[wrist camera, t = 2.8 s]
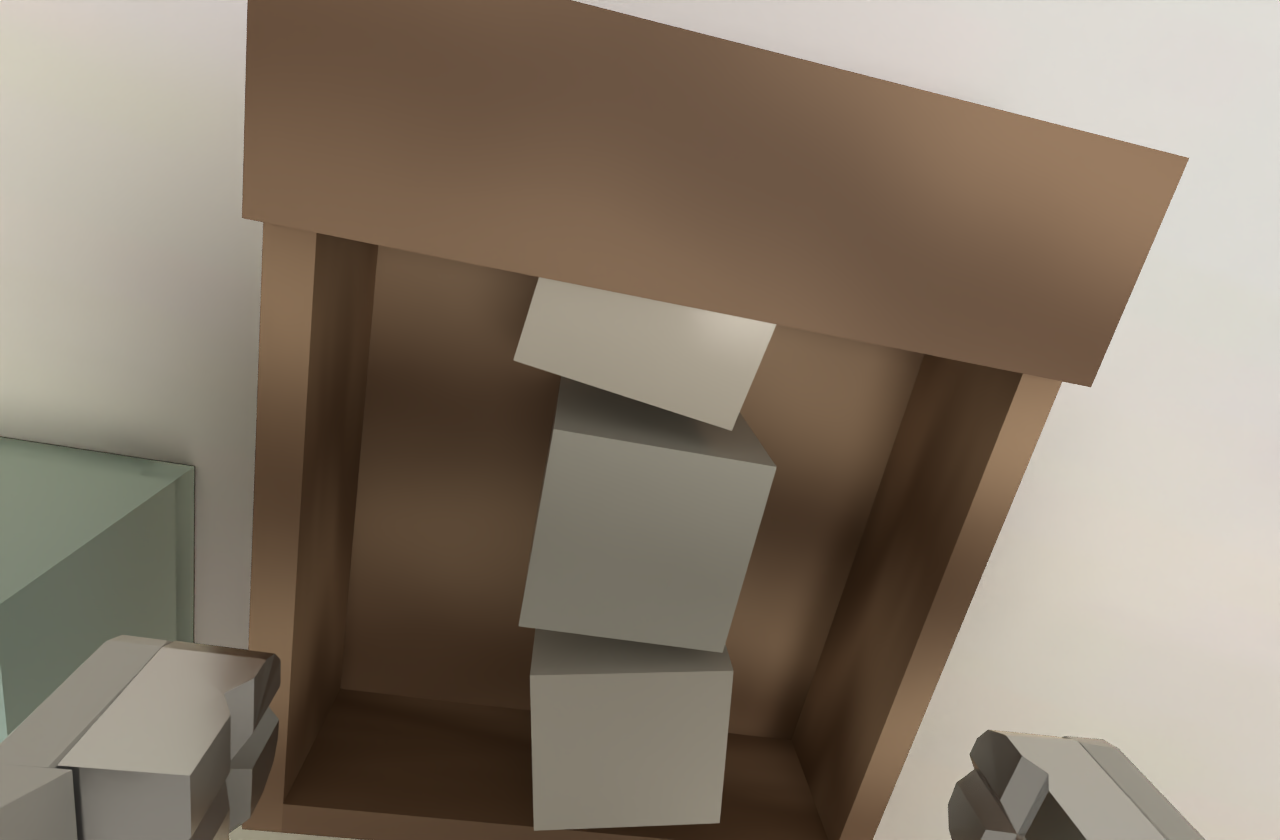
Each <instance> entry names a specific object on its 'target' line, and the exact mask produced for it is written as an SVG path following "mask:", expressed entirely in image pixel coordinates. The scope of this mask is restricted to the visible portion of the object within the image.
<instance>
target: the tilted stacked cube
mask: <svg viewBox="0 0 1280 840" xmlns="http://www.w3.org/2000/svg"><path fill="white" fill-rule="evenodd" d="M776 468H777V467H776V465H775V464H774V462H773V461H772V459H771V458H770V456H769V455H768V453H767V452H766V450H765V449H764V447H763V446H762V444H761V443H760V441H759V440H758V438H757V437H756V436H755V434H754V433H753V431H752V430H751V428H750V427H749V425H748V424H747V422H746V421H745V419H744V418H743V416H742V415H741V413H740V412H739V415H738V417H737V420H736V422H735V424H734V427H733V429H732V431H730V430H727V429H724V428H721V427H718V426H715V425H712V424H709V423H706V422H703V421H700V420H696V419H693V418H690V417H687V416H684V415H681V414H678V413H675V412H672V411H669V410H665V409H662V408H659V407H656V406H653V405H650V404H647V403H644V402H641V401H638V400H635V399H631V398H628V397H625V396H622V395H619V394H616V393H613V392H610V391H607V390H604V389H601V388H597V387H594V386H591V385H588V384H585V383H582V382H579V381H576V380H573V379H570V378H566V377H563V376H561V379H560V384H559V390H558V396H557V401H556V407H555V412H554V418H553V424H552V429H551V435H550V441H549V446H548V452H547V458H546V463H545V469H544V474H543V480H542V486H541V491H540V497H539V503H538V508H537V514H536V520H535V525H534V531H533V538H532V544H531V550H530V557H529V563H528V569H527V575H526V582H525V588H524V594H523V601H522V607H521V613H520V620H519V626H521V627H528V628H536V629H544V630H551V631H559V632H567V633H574V634H582V635H590V636H597V637H605V638H613V639H620V640H628V641H636V642H644V643H651V644H659V645H667V646H674V647H682V648H690V649H697V650H705V651H713V652H720V653H723V650H724V646H725V643H726V640H727V636H728V633H729V629H730V626H731V622H732V619H733V616H734V612H735V609H736V605H737V602H738V598H739V595H740V591H741V588H742V585H743V581H744V578H745V574H746V571H747V567H748V564H749V561H750V557H751V554H752V550H753V547H754V543H755V540H756V537H757V533H758V530H759V526H760V523H761V519H762V516H763V513H764V509H765V506H766V502H767V499H768V495H769V492H770V488H771V485H772V482H773V478H774V475H775V471H776Z"/></svg>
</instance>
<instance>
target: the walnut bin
mask: <svg viewBox="0 0 1280 840" xmlns="http://www.w3.org/2000/svg"><path fill="white" fill-rule="evenodd" d="M1188 160H1189V158H1187V157H1183V156H1179V155H1175V154H1171V153H1167V152H1163V151H1159V150H1155V149H1151V148H1147V147H1143V146H1140V145H1136V144H1132V143H1128V142H1124V141H1120V140H1116V139H1112V138H1108V137H1104V136H1100V135H1096V134H1093V133H1089V132H1085V131H1081V130H1077V129H1073V128H1069V127H1065V126H1061V125H1057V124H1053V123H1049V122H1046V121H1042V120H1038V119H1034V118H1030V117H1026V116H1022V115H1018V114H1014V113H1010V112H1006V111H1003V110H999V109H995V108H991V107H987V106H983V105H979V104H975V103H971V102H967V101H963V100H959V99H956V98H952V97H948V96H944V95H940V94H936V93H932V92H928V91H924V90H920V89H916V88H912V87H909V86H905V85H901V84H897V83H893V82H889V81H885V80H881V79H877V78H873V77H869V76H865V75H862V74H858V73H854V72H850V71H846V70H842V69H838V68H834V67H830V66H826V65H822V64H818V63H815V62H811V61H807V60H803V59H799V58H795V57H791V56H787V55H783V54H779V53H775V52H771V51H768V50H764V49H760V48H756V47H752V46H748V45H744V44H740V43H736V42H732V41H728V40H724V39H721V38H717V37H713V36H709V35H705V34H701V33H697V32H693V31H689V30H685V29H681V28H677V27H674V26H670V25H666V24H662V23H658V22H654V21H650V20H646V19H642V18H638V17H634V16H631V15H627V14H623V13H619V12H615V11H611V10H607V9H603V8H599V7H595V6H591V5H587V4H584V3H580V2H576V1H572V0H248V7H247V46H246V85H245V124H244V163H243V202H242V218H245V219H250V220H255V221H260V222H263V249H262V277H261V306H260V334H259V363H258V391H257V420H256V449H255V477H254V506H253V534H252V563H251V591H250V620H249V648H248V650H252V651H259V652H267V653H275V654H276V655H277V656H278V657H279V658H280V659H281V686H280V687H279V689H278V691H277V692H276V694H275V696H274V698H273V699H272V701H271V703H270V705H269V707H270V709H271V710H272V711H273V712H274V714H275V715H276V716H277V717H278V719H279V730H278V741H277V746H276V752H275V757H274V762H273V765H272V768H271V771H270V774H269V776H268V779H267V782H266V785H265V788H264V791H263V793H262V795H261V797H260V799H259V801H258V803H257V806H256V808H255V810H254V812H253V814H252V816H251V818H250V819H248V820H247V821H245V822H244V823H243V824H242V829H248V830H259V831H271V832H282V833H294V834H306V835H317V836H329V837H341V838H352V839H364V840H873V837H874V835H875V832H876V830H877V828H878V825H879V823H880V820H881V818H882V815H883V813H884V811H885V808H886V806H887V803H888V801H889V799H890V796H891V794H892V791H893V789H894V787H895V784H896V782H897V779H898V777H899V774H900V772H901V770H902V767H903V765H904V762H905V760H906V758H907V755H908V753H909V750H910V748H911V745H912V743H913V741H914V738H915V736H916V733H917V731H918V729H919V726H920V724H921V721H922V719H923V716H924V714H925V712H926V709H927V707H928V704H929V702H930V700H931V697H932V695H933V692H934V690H935V687H936V685H937V683H938V680H939V678H940V675H941V673H942V671H943V668H944V666H945V663H946V661H947V659H948V656H949V654H950V651H951V649H952V646H953V644H954V642H955V639H956V637H957V634H958V632H959V630H960V627H961V625H962V622H963V620H964V617H965V615H966V613H967V610H968V608H969V605H970V603H971V601H972V598H973V596H974V593H975V591H976V588H977V586H978V584H979V581H980V579H981V576H982V574H983V572H984V569H985V567H986V564H987V562H988V560H989V557H990V555H991V552H992V550H993V547H994V545H995V543H996V540H997V538H998V535H999V533H1000V531H1001V528H1002V526H1003V523H1004V521H1005V518H1006V516H1007V514H1008V511H1009V509H1010V506H1011V504H1012V502H1013V499H1014V497H1015V494H1016V492H1017V489H1018V487H1019V485H1020V482H1021V480H1022V477H1023V475H1024V473H1025V470H1026V468H1027V465H1028V463H1029V461H1030V458H1031V456H1032V453H1033V451H1034V448H1035V446H1036V444H1037V441H1038V439H1039V436H1040V434H1041V432H1042V429H1043V427H1044V424H1045V422H1046V419H1047V417H1048V415H1049V412H1050V410H1051V407H1052V405H1053V403H1054V400H1055V398H1056V395H1057V393H1058V390H1059V388H1060V386H1061V383H1062V381H1063V382H1068V383H1073V384H1078V385H1083V386H1088V387H1091V386H1092V383H1093V381H1094V379H1095V376H1096V374H1097V372H1098V369H1099V367H1100V365H1101V362H1102V360H1103V358H1104V355H1105V353H1106V351H1107V348H1108V346H1109V344H1110V341H1111V339H1112V337H1113V334H1114V332H1115V330H1116V327H1117V325H1118V323H1119V320H1120V318H1121V316H1122V313H1123V311H1124V309H1125V306H1126V304H1127V302H1128V299H1129V297H1130V295H1131V292H1132V290H1133V288H1134V285H1135V283H1136V281H1137V278H1138V276H1139V274H1140V271H1141V269H1142V267H1143V264H1144V262H1145V260H1146V257H1147V255H1148V253H1149V250H1150V248H1151V246H1152V243H1153V241H1154V239H1155V236H1156V234H1157V232H1158V229H1159V227H1160V225H1161V222H1162V220H1163V218H1164V215H1165V213H1166V211H1167V208H1168V206H1169V204H1170V201H1171V199H1172V197H1173V194H1174V192H1175V190H1176V187H1177V185H1178V183H1179V180H1180V178H1181V176H1182V173H1183V171H1184V169H1185V167H1186V164H1187V162H1188ZM539 277H541V278H546V279H551V280H556V281H561V282H566V283H571V284H576V285H581V286H586V287H591V288H596V289H601V290H606V291H611V292H616V293H621V294H626V295H631V296H636V297H641V298H646V299H651V300H656V301H661V302H666V303H671V304H676V305H681V306H686V307H691V308H697V309H702V310H707V311H712V312H717V313H722V314H727V315H732V316H737V317H742V318H747V319H752V320H757V321H762V322H767V323H772V324H776V327H775V329H774V332H773V334H772V336H771V339H770V341H769V343H768V346H767V348H766V351H765V353H764V355H763V358H762V360H761V362H760V365H759V367H758V370H757V372H756V374H755V377H754V379H753V381H752V384H751V386H750V389H749V391H748V393H747V396H746V398H745V401H744V403H743V405H742V408H741V410H740V413H741V415H742V416H743V418H744V419H745V421H746V422H747V424H748V425H749V427H750V428H751V430H752V431H753V433H754V434H755V436H756V437H757V438H758V440H759V441H760V443H761V444H762V446H763V447H764V449H765V450H766V452H767V453H768V455H769V456H770V458H771V459H772V461H773V462H774V464H775V465H776V467H777V468H776V471H775V475H774V478H773V482H772V485H771V488H770V492H769V495H768V499H767V502H766V506H765V509H764V513H763V516H762V519H761V523H760V526H759V530H758V533H757V537H756V540H755V543H754V547H753V550H752V554H751V557H750V561H749V564H748V567H747V571H746V574H745V578H744V581H743V585H742V588H741V591H740V595H739V598H738V602H737V605H736V609H735V612H734V616H733V619H732V622H731V626H730V629H729V633H728V636H727V640H726V643H725V644H726V647H727V651H728V654H729V657H730V661H731V664H732V667H733V671H734V672H733V683H732V694H731V705H730V716H729V726H728V737H727V748H726V759H725V770H724V781H723V792H722V803H721V814H720V823H711V824H687V825H662V826H638V827H613V828H588V829H564V830H539V831H534V818H533V778H532V739H531V699H530V670H531V662H532V654H533V645H534V637H535V628H528V627H521V626H519V620H520V613H521V607H522V601H523V594H524V588H525V582H526V575H527V569H528V563H529V557H530V550H531V544H532V538H533V531H534V525H535V520H536V514H537V508H538V503H539V497H540V491H541V486H542V480H543V474H544V469H545V463H546V458H547V452H548V446H549V441H550V435H551V429H552V424H553V418H554V412H555V407H556V401H557V396H558V390H559V384H560V379H561V376H560V375H557V374H554V373H551V372H548V371H545V370H542V369H539V368H536V367H532V366H529V365H526V364H523V363H520V362H517V361H514V360H513V359H514V356H515V353H516V350H517V347H518V343H519V340H520V337H521V334H522V330H523V327H524V324H525V321H526V317H527V314H528V311H529V308H530V304H531V301H532V298H533V295H534V291H535V288H536V285H537V282H538V279H539Z"/></svg>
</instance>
